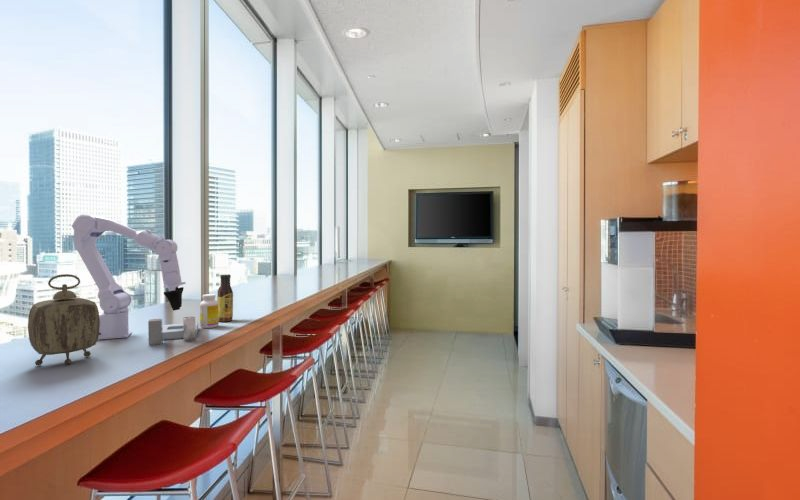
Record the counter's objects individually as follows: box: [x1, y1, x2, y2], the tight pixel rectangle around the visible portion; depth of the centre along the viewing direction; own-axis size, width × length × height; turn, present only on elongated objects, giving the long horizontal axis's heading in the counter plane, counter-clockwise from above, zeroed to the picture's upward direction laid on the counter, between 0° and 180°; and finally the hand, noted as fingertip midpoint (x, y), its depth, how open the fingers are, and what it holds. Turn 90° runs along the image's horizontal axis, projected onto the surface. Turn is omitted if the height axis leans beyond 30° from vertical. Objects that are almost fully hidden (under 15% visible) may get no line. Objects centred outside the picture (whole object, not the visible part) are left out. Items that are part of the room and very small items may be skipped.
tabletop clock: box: [27, 273, 100, 366], centre depth 112 cm, size 14×9×25 cm, turn 141°
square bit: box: [147, 318, 163, 346], centre depth 133 cm, size 4×4×8 cm
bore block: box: [162, 321, 199, 341], centre depth 146 cm, size 14×14×2 cm
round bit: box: [183, 316, 196, 343], centre depth 137 cm, size 4×4×8 cm
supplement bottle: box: [199, 293, 219, 329], centre depth 159 cm, size 7×7×13 cm
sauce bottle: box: [216, 273, 234, 323], centre depth 170 cm, size 6×6×20 cm
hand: (177, 308), depth 146 cm, fingers open, 7 cm apart
